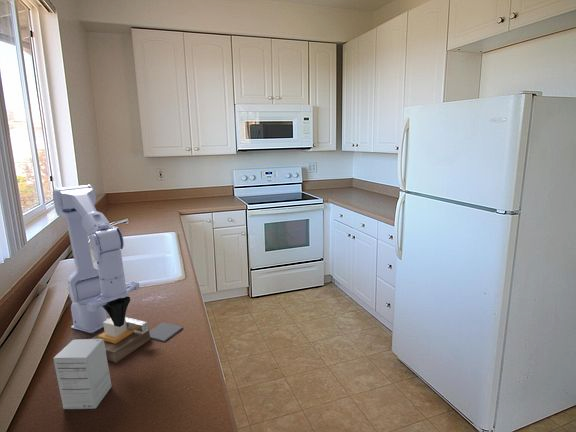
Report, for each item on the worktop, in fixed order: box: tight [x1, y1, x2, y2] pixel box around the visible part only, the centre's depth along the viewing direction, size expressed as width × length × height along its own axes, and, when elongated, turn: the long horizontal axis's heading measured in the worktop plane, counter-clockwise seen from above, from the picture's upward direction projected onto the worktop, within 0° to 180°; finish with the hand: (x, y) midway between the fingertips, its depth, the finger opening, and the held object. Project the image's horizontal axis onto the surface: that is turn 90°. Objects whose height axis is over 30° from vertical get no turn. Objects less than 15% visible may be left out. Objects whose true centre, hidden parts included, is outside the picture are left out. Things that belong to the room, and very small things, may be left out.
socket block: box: [90, 328, 151, 363], centre depth 102 cm, size 12×12×3 cm
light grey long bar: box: [108, 315, 149, 332], centre depth 104 cm, size 13×2×3 cm, turn 66°
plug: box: [98, 318, 134, 344], centre depth 102 cm, size 6×6×8 cm
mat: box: [149, 322, 184, 343], centre depth 109 cm, size 8×8×1 cm
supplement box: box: [53, 338, 112, 410], centre depth 81 cm, size 7×7×13 cm
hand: (119, 325), depth 95 cm, fingers closed
